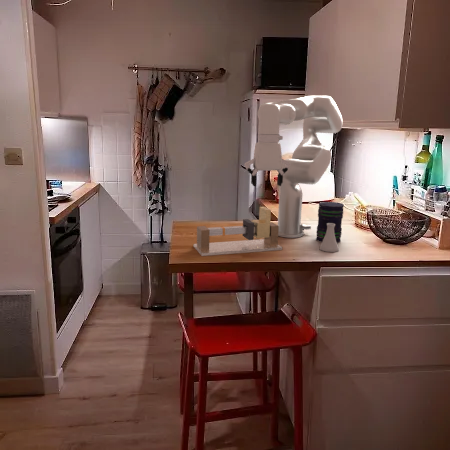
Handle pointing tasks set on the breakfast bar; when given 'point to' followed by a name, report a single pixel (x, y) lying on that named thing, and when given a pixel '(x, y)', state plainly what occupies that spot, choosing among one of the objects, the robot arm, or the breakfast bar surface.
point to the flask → (329, 240)
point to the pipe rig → (234, 246)
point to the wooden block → (263, 223)
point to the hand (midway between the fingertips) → (266, 185)
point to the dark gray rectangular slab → (249, 229)
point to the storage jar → (329, 219)
